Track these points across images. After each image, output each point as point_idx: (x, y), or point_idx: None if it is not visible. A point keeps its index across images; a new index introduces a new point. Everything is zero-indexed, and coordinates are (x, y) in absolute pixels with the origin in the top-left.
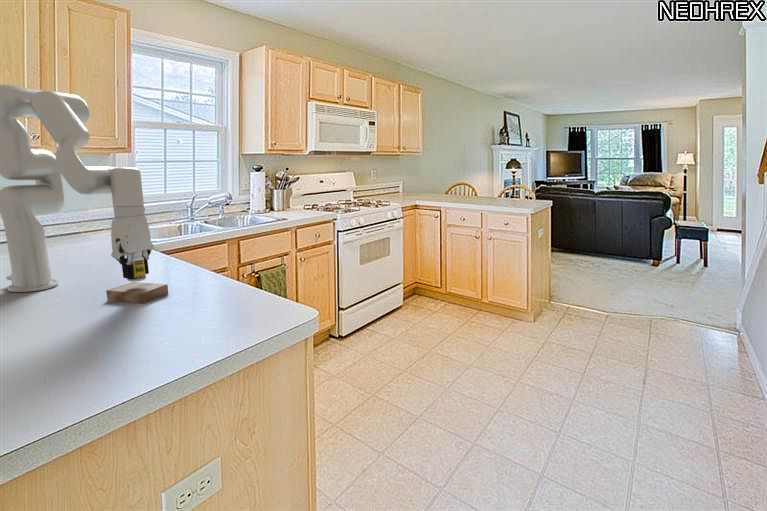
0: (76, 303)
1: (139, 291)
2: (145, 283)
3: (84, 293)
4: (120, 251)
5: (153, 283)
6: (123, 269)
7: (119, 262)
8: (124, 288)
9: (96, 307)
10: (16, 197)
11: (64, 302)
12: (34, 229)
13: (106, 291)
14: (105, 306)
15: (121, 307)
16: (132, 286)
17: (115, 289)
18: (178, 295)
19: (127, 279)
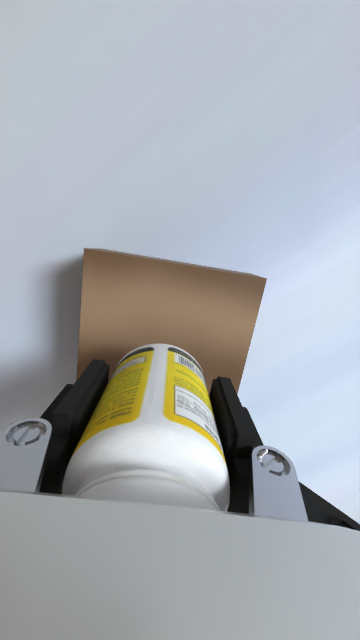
0: (35, 122)
1: None
2: (235, 357)
3: (208, 7)
4: (13, 509)
5: (236, 392)
6: (49, 412)
7: (3, 431)
8: (134, 317)
9: (9, 267)
10: None
11: (34, 32)
12: None
13: (86, 249)
14: (30, 294)
15: (35, 361)
16: (175, 331)
17: (110, 283)
18: None
19: (121, 359)
